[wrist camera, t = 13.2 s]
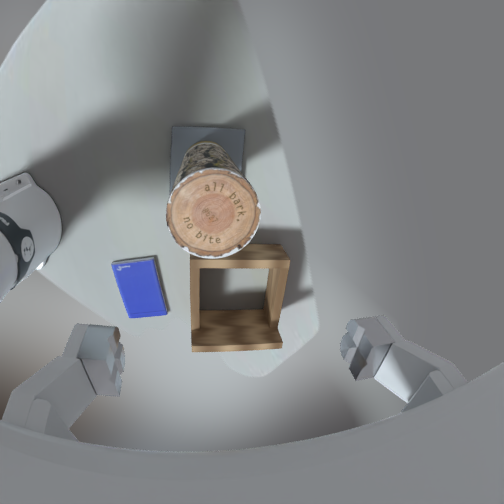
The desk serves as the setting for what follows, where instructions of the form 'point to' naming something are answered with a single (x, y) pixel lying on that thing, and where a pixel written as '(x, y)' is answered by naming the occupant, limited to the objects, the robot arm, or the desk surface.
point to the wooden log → (211, 204)
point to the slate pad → (191, 135)
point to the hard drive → (140, 287)
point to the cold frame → (240, 321)
